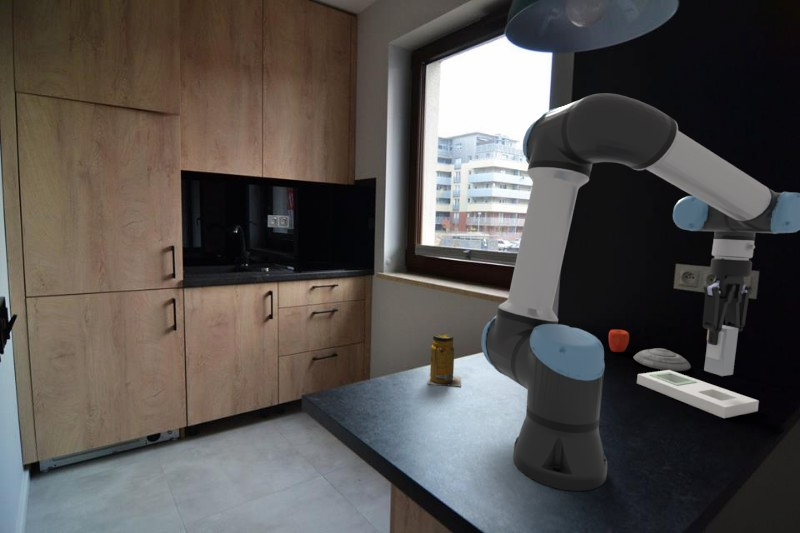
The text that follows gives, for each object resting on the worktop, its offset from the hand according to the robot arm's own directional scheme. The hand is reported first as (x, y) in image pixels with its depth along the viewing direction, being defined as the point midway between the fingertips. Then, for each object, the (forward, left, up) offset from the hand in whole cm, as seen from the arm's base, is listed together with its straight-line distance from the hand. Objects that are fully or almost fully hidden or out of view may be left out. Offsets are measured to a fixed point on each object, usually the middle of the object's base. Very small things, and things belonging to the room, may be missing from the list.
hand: (720, 357), depth 102 cm
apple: (+14, +40, -12) cm, 45 cm away
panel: (0, +5, -12) cm, 13 cm away
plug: (0, 0, -4) cm, 4 cm away
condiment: (-55, +33, -12) cm, 65 cm away
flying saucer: (+15, +25, -12) cm, 32 cm away
